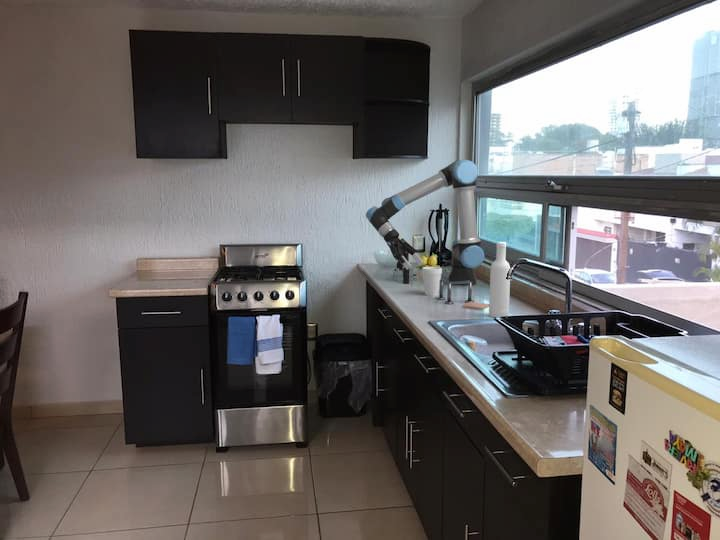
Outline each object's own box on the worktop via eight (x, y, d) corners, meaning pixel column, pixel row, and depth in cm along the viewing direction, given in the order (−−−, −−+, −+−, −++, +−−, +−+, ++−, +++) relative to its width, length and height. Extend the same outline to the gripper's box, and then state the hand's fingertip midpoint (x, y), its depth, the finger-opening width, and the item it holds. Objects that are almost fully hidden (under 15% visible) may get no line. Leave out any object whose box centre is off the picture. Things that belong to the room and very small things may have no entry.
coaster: (469, 304, 259) (469, 301, 259) (489, 306, 255) (489, 304, 255) (462, 307, 252) (462, 305, 252) (482, 310, 247) (482, 307, 247)
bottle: (505, 313, 240) (508, 241, 236) (511, 318, 233) (514, 243, 228) (486, 313, 240) (489, 241, 236) (491, 318, 232) (494, 243, 228)
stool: (389, 245, 303) (387, 239, 336) (388, 285, 306) (387, 275, 339) (419, 245, 303) (414, 239, 336) (418, 285, 306) (414, 275, 339)
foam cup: (443, 293, 283) (444, 267, 281) (438, 297, 274) (438, 270, 272) (425, 292, 287) (425, 266, 285) (419, 295, 278) (419, 268, 276)
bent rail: (438, 297, 273) (439, 277, 272) (475, 301, 264) (476, 280, 262) (428, 301, 264) (429, 280, 262) (466, 306, 254) (466, 284, 253)
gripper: (396, 236, 300) (421, 267, 295) (371, 240, 279) (398, 274, 274) (405, 226, 297) (431, 258, 291) (380, 230, 276) (408, 264, 270)
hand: (415, 266), depth 282 cm, fingers open, 13 cm apart
